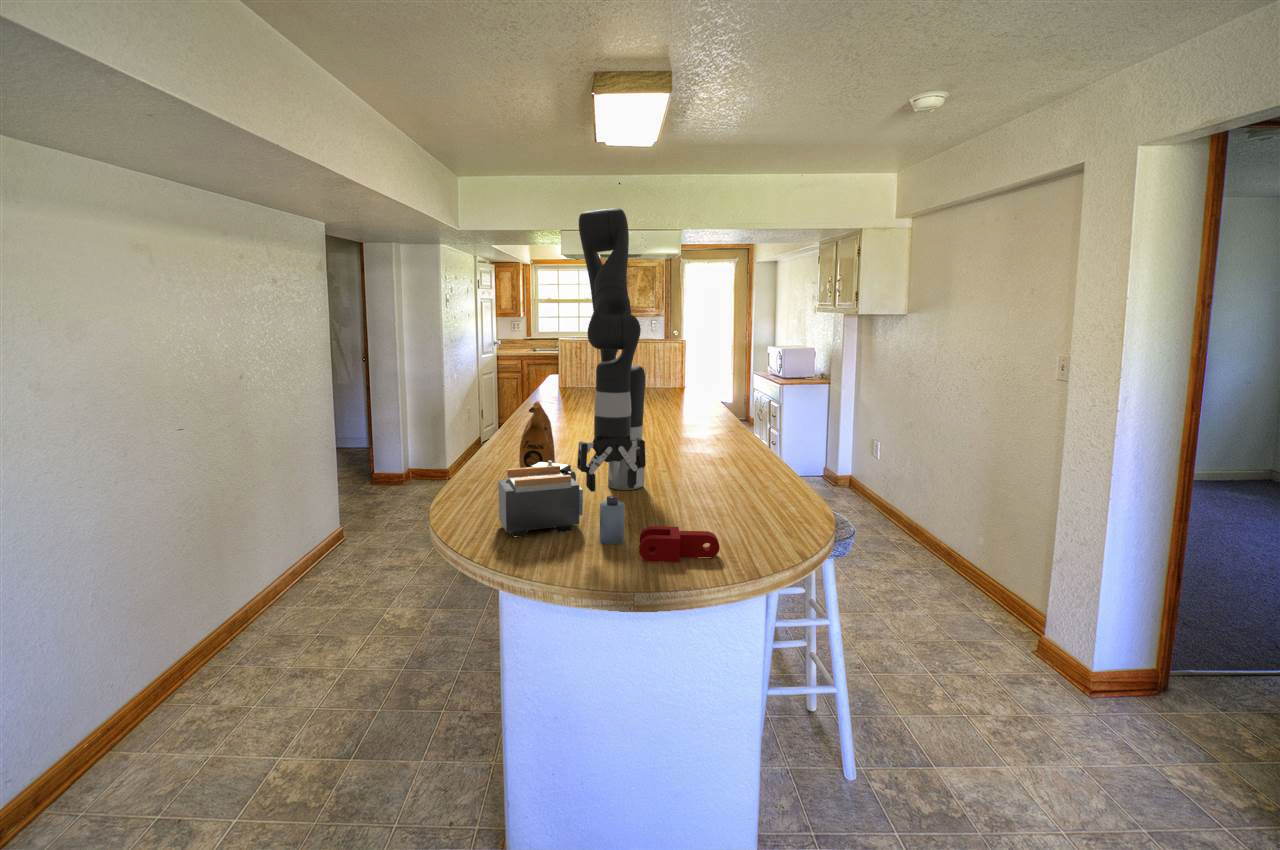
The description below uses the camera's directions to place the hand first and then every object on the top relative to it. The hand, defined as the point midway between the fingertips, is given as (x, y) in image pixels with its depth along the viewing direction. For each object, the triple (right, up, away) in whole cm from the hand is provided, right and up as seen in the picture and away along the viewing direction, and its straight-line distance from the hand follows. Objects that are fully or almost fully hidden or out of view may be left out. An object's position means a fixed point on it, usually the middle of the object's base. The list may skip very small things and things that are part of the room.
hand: (611, 489), depth 138 cm
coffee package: (-23, -3, +45) cm, 51 cm away
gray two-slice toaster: (-17, -10, +8) cm, 21 cm away
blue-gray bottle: (0, -11, +2) cm, 11 cm away
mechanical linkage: (+14, -13, -5) cm, 20 cm away
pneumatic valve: (-16, -7, +23) cm, 28 cm away
